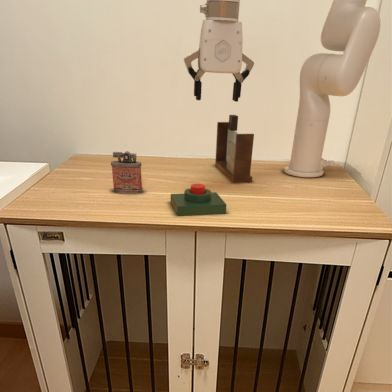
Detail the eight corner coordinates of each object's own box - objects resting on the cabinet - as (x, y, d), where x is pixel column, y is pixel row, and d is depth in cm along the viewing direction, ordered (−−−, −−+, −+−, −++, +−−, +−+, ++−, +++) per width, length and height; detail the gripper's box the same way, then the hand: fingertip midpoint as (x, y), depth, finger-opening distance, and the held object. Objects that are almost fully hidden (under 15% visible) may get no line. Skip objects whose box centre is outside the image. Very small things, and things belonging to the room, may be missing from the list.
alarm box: (215, 200, 107) (216, 185, 105) (225, 213, 100) (227, 196, 97) (170, 202, 105) (170, 186, 103) (177, 215, 97) (177, 198, 95)
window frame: (232, 164, 140) (235, 121, 132) (252, 182, 123) (257, 134, 115) (215, 165, 139) (217, 121, 131) (233, 183, 122) (237, 134, 114)
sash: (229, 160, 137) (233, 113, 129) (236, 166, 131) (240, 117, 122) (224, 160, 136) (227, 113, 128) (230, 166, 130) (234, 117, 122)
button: (203, 190, 102) (203, 183, 101) (206, 195, 99) (207, 187, 98) (189, 191, 101) (189, 183, 100) (192, 195, 98) (192, 188, 97)
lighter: (143, 190, 113) (141, 151, 107) (141, 193, 110) (139, 153, 104) (114, 189, 113) (111, 149, 107) (112, 192, 111) (108, 152, 104)
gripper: (188, 9, 89) (185, 101, 99) (263, 15, 92) (253, 103, 102) (182, 11, 95) (180, 97, 105) (253, 16, 98) (245, 100, 108)
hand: (216, 100), depth 103 cm, fingers open, 9 cm apart
